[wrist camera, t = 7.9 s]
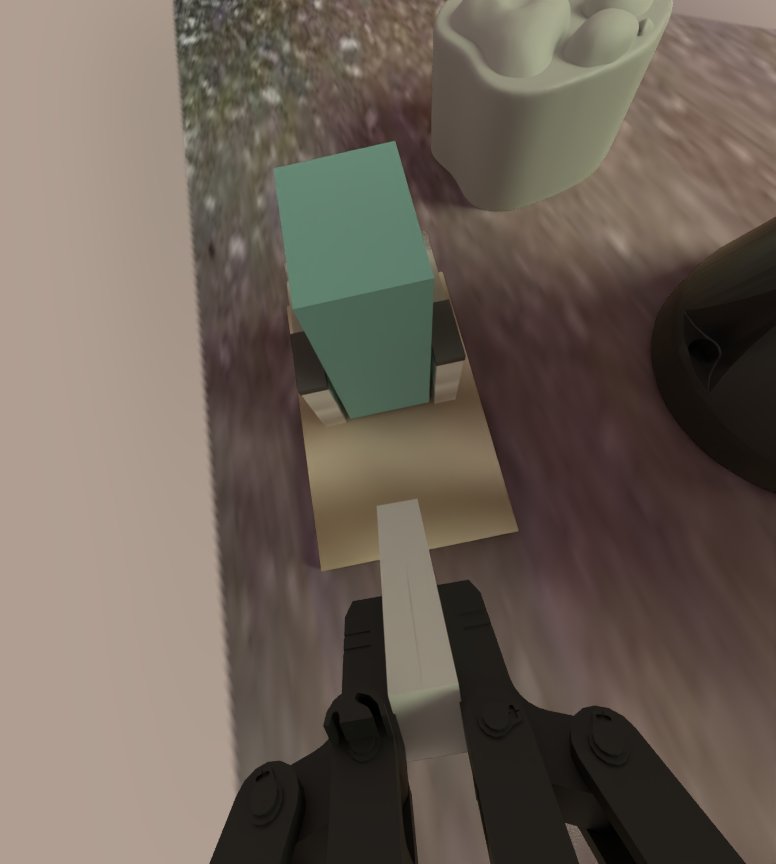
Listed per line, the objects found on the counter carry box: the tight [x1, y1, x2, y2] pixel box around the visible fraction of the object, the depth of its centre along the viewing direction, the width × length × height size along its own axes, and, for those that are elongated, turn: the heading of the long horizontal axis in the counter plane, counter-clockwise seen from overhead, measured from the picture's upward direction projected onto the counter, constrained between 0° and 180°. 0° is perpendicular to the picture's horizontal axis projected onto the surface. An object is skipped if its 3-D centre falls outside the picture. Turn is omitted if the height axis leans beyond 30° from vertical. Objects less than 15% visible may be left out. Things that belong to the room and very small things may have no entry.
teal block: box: [274, 141, 434, 419], centre depth 17 cm, size 6×4×10 cm
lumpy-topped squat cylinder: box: [431, 0, 673, 211], centre depth 24 cm, size 10×13×9 cm
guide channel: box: [284, 231, 519, 572], centre depth 20 cm, size 16×10×6 cm, turn 11°
